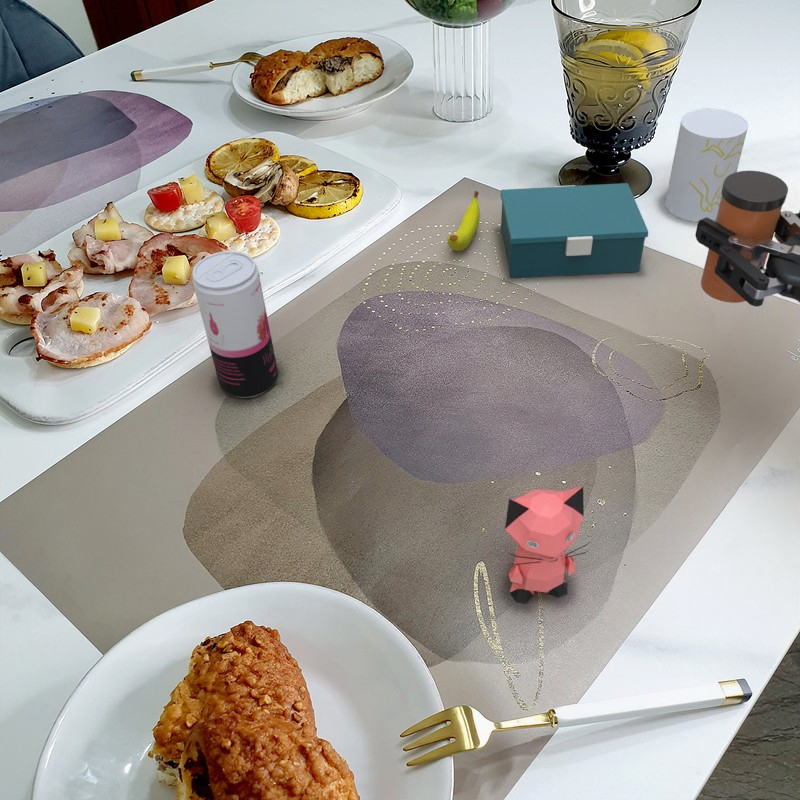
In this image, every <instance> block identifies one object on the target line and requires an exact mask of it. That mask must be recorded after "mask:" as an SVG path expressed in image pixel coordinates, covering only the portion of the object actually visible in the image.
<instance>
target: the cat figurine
mask: <svg viewBox="0 0 800 800" xmlns="http://www.w3.org/2000/svg"><path fill="white" fill-rule="evenodd" d="M584 508H585V507H584V486H579V487H575V488H571V489H567V490H562V491H561V490H554V489H553V490H552V489H539V488H535V489H534V490H532V491H529V492H527V493H525V494H523V495H521V496H519V497H516V498H508V502H507V511H506V519H505V525H504V527H505V528H504V530H505V532H506V533H507V535H508V536H509V537H510V539H511V540H512V541H513V542H514V543H515V544H516V548H515V552H514V553H515V554H512V553H508V554H509V555H511V556H513V557H514V560H513V562H509V564H510V565H513V566H512V567H511V568H510V569H509V572H508V578H509V580H510V582H511V586H510V589H509V594H510V595H511V597H512V598H513V600H514V601H515V602H516V603H520V604H528V603H529V602H530V600H531V599H533V597H534V596H535V592H539V593H547V594H549V595H551V596H554V597H555V598H562V597H564V596H566V595H567V594H568V582H567V581H566V580H565V579H564V578H565V571H566V572H567V574H568V576H569V577H571V576H572V575H573V574H574V573H575V572H576V571H577V564H576V563H575V562H574V561H575V560H574V557H575V556H579V555H583V554H586V553H587V552H588V551H590V549H588V550H586V551H583V552H580V553H577V554H572V553H574V552H576V551H578V550H580V549H582V548H584V547H587V546H588V545H589V544H590V543H591V542H592V541H593V539H591V540H589V542H587V543H586V544H584V545H581V546H580V547H578V548H576V549H574V550H572V551H570V552H568V553H567V552H566V549H568V548H569V547H571V546H572V545H573V544H575V542H576V541H577V538H578V534H579V532H580V528H581V525H582V522H583V519H584V513H585V511H584ZM570 554H572V555H570Z"/></svg>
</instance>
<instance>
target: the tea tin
mask: <svg viewBox="0 0 800 800" xmlns="http://www.w3.org/2000/svg"><path fill="white" fill-rule="evenodd" d="M788 192H789V187H788V185H787V184H786V182H785V181H784V180H783V179H781V178H780V177H778V176H776V175H775V174H771V173H768V172H764V171H760V170H741V171H737V172H735V173H733V174H730V175H729V176H727V177H726V178H725V180H724V183H723V187H722V192H721V193H722V196H721V200H720V204H719V209H718V213H717V217H716V220H714V221H715V222H717V223H718V224H720V225H722V226H724V227H725V228H727V229H729V230H731V231H732V232H734V233H736V235H735V236H740V237H743V238H746V239H750V240H753V241H759V240H760V239H762V238H764V239H768V240H771V241H773V238H774V235H775V233H774V232H775V229H776V225H777V222H778V219H779V215H780V212H782V208H783V205H784V204H785V202H786V199H787V196H788ZM740 254H741V255H742V256H743V257H745V258H747V259H750V260H751V257H752V254H751V253H750V252H747V251H744V250H740ZM718 256H719V254H717V253H715V252H714V251H712V250H710V249H709V248H708V250H707V255H706V259H705V264H704V266H703V271H702V275H701V279H700V287H701V289H702V290H703V292H704V293H705V294H706V295H707V296H709V297H710V298H712V299H715V300H716V301H720V302H724V303H730V304H734V303H736V304H737V303H744V302H747V301H746V300H744V299H743V298H742V297H741V296H740V295H739V294H738V293H737V292H736V291H734V290H733V289H732V288H731V287H730V286H729V285H728V284H727V283H725V282H724V281H723V280H722V279H721V278H720V277H719V276H718V275H716V274H715V272H714V270H715V266H716V264H717V260H718ZM768 256H769V253H764V256H763V259H762V263H761V265H762V267H763V268H765V266H766V263H767V260H768ZM731 269H732V270H733V267H731Z"/></svg>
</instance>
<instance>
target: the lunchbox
mask: <svg viewBox="0 0 800 800" xmlns="http://www.w3.org/2000/svg"><path fill="white" fill-rule="evenodd" d="M500 198H501V220H500V232H501V237H502V242H503V248H504V252H505V257H506V262H507V263H506V264H507V268H508V273H509V277H510V279H523V278H524V279H525V278H544V277H545V278H546V277H561V276H585V275H601V274H621V273H638V272H640V268H641V264H642V263H641V262H642V256H643V251H644V245H645V240H646V238H648V236H649V230H648V227H647V225H646V222H645V220H644V218H643V216H642V215H643V214H642V213H641V211H640V208H639V206H638V203H637V202H636V199H635V196H634V194H633V192H632V189H631V187H630V185H629V183H628V182H625V183H624V182H623V183H605V184H603V183H602V184H586V185H585V184H584V185H575V184H573V185H555V186H549V187H548V186H547V187H545V186H544V187H529V188H527V187H526V188H511V189H510V188H509V189H501V190H500Z"/></svg>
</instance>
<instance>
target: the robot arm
mask: <svg viewBox="0 0 800 800" xmlns="http://www.w3.org/2000/svg"><path fill="white" fill-rule="evenodd" d="M715 221H716V220H714V221H713V220H711V219H710V218H707V217H706V218H703V219H701V220H699V221H698V222H697V225H696V230H695V234H694V235H695V238H696V241H697V242H698V243H699V244H701V245H702V246H704V247H706V248H707V249H708V250H709V249H710V250H712V251H714V252H715V253H717V254H719V256H718V260H717V264H716V266H715V270H714V272H715V274H716V275H718V276H719V277H720V278H721V279H722V280H723V281H724V282H725V283H727V284H728V285H729V286H730V287H731V288H732V289H733V290H734V291H736V292H737V293H738V294H739V295H740V296H741V297H742V298H743V299H744V300H746V301H745V302H747V303H748V304H749V305H750V306H752V307H761V306H762V305H763V304H764V300H765V298H766V297H769V296H773V295H776V294H777V295H779V296H781V297H785V298H788V299H792V300H795V301H797V302H799V303H800V210H799V211H798V212H796V213H794V212H793V211H790V210H783V211H781V212H780V215H779V219H778V222H777V225H776V229H775V232H774V235H773V238H775V239H776V240H777V241H775V240H772V241H771V240H768V239H764V238H762V239H760V240H759V241H753V240H750V239H746V238H743V237H740V236H735V235H736V233H734V232H732V231H731V230H729V229H727V228H725V227H724V226H722V225H720V224H718V223H717V222H715ZM740 250H744V251H747V252H750V253H751V254H752V257H751V260H750V259H747V258H745V257H743V256H742V255H741V254H740ZM764 253H768V255H767V259H766V262H765V267H764V268H763V267H762V265H761V263H762V259H763V256H764ZM731 267H733V270H732V269H731Z"/></svg>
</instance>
